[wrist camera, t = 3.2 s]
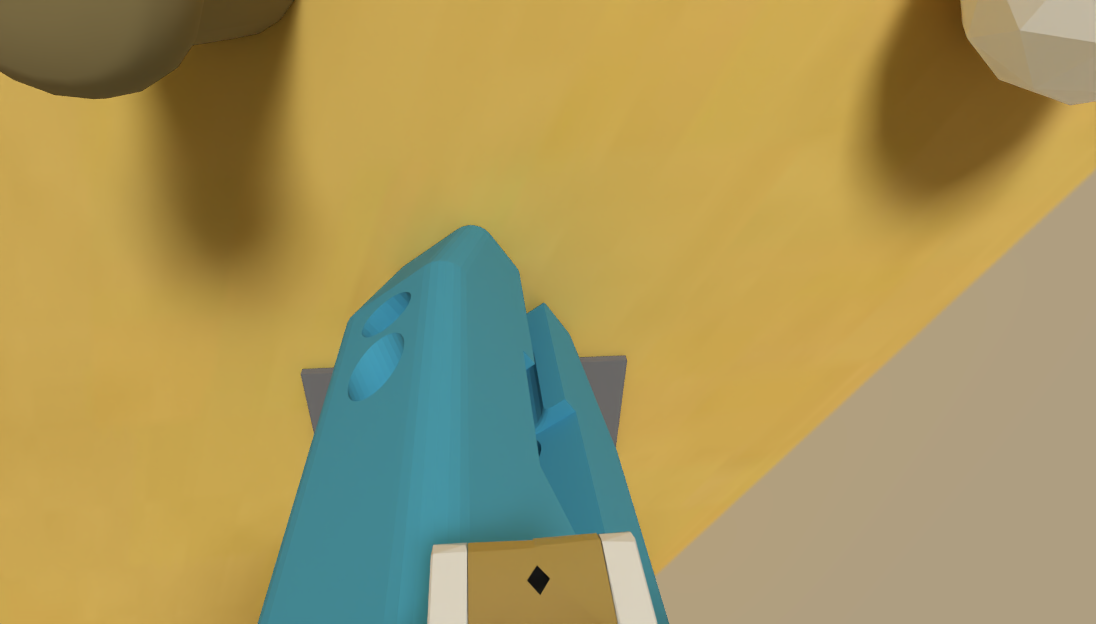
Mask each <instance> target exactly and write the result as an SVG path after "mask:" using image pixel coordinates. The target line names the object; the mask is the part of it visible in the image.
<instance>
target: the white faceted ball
mask: <svg viewBox="0 0 1096 624" xmlns="http://www.w3.org/2000/svg"><path fill="white" fill-rule="evenodd" d="M960 2H961V13H962V24H963V27H964V30H965V34H966V37H967V39H968V40H969V42H970V43H971V44H972V45H973V47H974V48H975V49H976V51H977V52H978V53H979V55H980V56H981V57H982V59H983V60H984V61H985V62H986V64H987V65H988V66H989V68H990V69H991V70H992V72H993V73H994V74H995V76H996V77H997V78H998V79H999V80H1001V81H1004V82H1007V83H1010V84H1012V85H1015V86H1018V87H1021V88H1024V89H1026V90H1029V91H1032V92H1035V93H1038V94H1040V95H1043V96H1046V97H1049V98H1051V99H1054V100H1057V101H1060V102H1063V103H1065V104H1068V105H1075V104H1081V103H1087V102H1094V101H1096V0H960Z"/></svg>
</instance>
